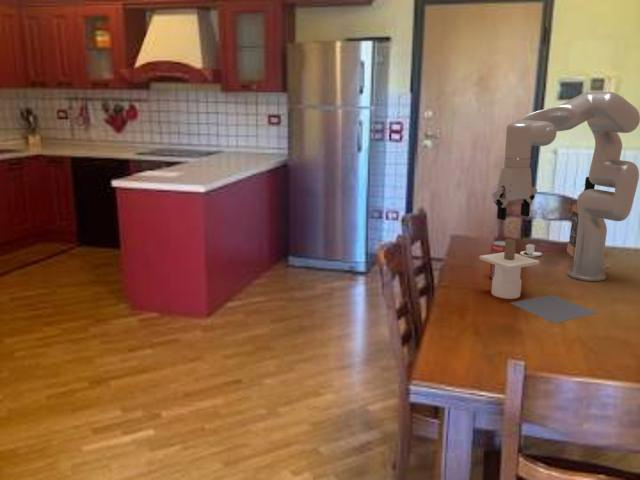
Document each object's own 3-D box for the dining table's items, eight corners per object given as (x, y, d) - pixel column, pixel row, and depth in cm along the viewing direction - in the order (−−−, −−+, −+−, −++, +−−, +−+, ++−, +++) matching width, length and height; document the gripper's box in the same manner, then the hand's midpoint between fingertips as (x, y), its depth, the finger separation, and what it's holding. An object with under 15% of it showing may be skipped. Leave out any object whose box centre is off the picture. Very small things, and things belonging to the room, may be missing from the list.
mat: (551, 297, 193) (551, 294, 193) (598, 316, 177) (598, 312, 177) (509, 306, 185) (509, 303, 185) (554, 326, 170) (554, 322, 169)
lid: (509, 254, 199) (511, 233, 197) (539, 264, 188) (541, 242, 186) (479, 258, 193) (480, 238, 192) (508, 269, 182) (510, 247, 180)
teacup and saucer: (544, 258, 239) (545, 248, 238) (524, 258, 240) (525, 248, 239) (536, 252, 248) (537, 242, 247) (517, 252, 248) (518, 242, 247)
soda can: (510, 281, 209) (514, 246, 205) (489, 280, 210) (492, 244, 207) (508, 275, 215) (511, 241, 212) (488, 274, 217) (490, 240, 213)
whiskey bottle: (566, 251, 248) (574, 174, 240) (590, 252, 247) (600, 175, 239) (572, 257, 238) (581, 178, 230) (598, 259, 237) (608, 179, 229)
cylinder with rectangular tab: (505, 303, 188) (508, 267, 185) (485, 294, 195) (487, 259, 193) (526, 299, 192) (529, 263, 189) (505, 290, 200) (508, 256, 197)
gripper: (529, 160, 190) (525, 212, 194) (486, 164, 183) (483, 218, 187) (547, 162, 183) (542, 217, 188) (504, 167, 176) (500, 223, 180)
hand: (513, 217), depth 187 cm, fingers open, 9 cm apart
